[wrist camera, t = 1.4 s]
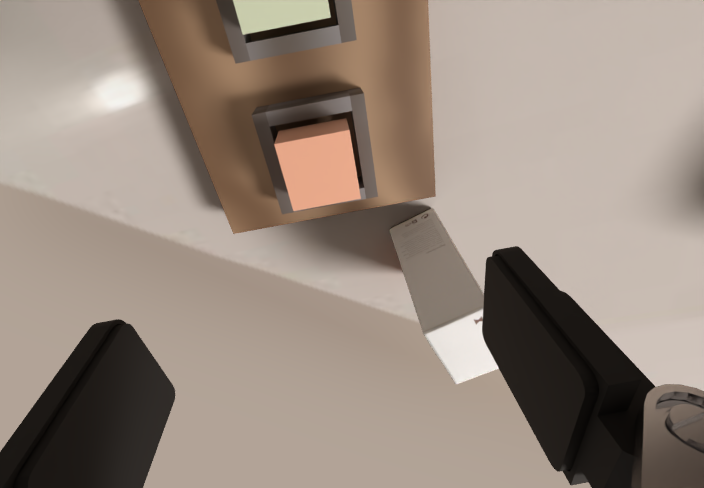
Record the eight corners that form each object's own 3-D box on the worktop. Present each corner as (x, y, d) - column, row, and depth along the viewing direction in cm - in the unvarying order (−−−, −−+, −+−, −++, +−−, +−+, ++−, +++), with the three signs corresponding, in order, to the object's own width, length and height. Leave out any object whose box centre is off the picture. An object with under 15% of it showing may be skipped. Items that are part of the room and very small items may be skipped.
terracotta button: (346, 117, 21) (349, 129, 18) (356, 181, 23) (360, 198, 21) (278, 130, 21) (274, 144, 19) (295, 192, 23) (293, 211, 21)
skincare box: (386, 228, 30) (421, 333, 20) (432, 205, 30) (492, 302, 20) (413, 276, 34) (455, 387, 23) (456, 257, 33) (517, 363, 23)
